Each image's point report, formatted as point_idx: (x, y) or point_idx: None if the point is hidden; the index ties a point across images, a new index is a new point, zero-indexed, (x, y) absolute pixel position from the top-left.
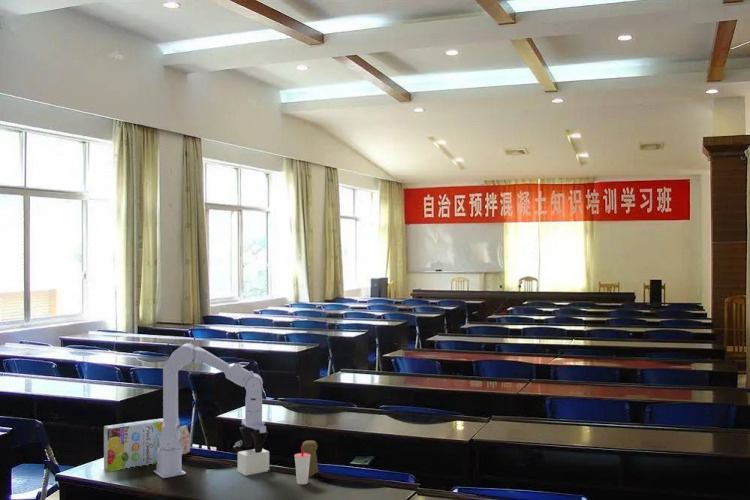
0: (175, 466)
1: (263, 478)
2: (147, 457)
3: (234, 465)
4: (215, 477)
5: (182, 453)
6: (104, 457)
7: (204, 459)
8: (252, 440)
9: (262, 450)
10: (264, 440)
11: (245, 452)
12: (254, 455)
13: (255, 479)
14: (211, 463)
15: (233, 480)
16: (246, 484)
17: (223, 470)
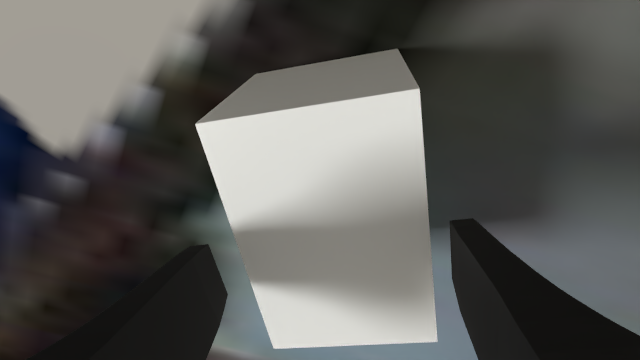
0: None
1: (553, 151)
2: None
3: (164, 221)
4: (355, 352)
5: None
6: None
7: (14, 310)
8: (166, 286)
9: (322, 148)
10: (602, 319)
11: (321, 309)
12: (430, 258)
13: (534, 203)
14: (95, 304)
15: None
16: (589, 275)
17: (247, 294)
